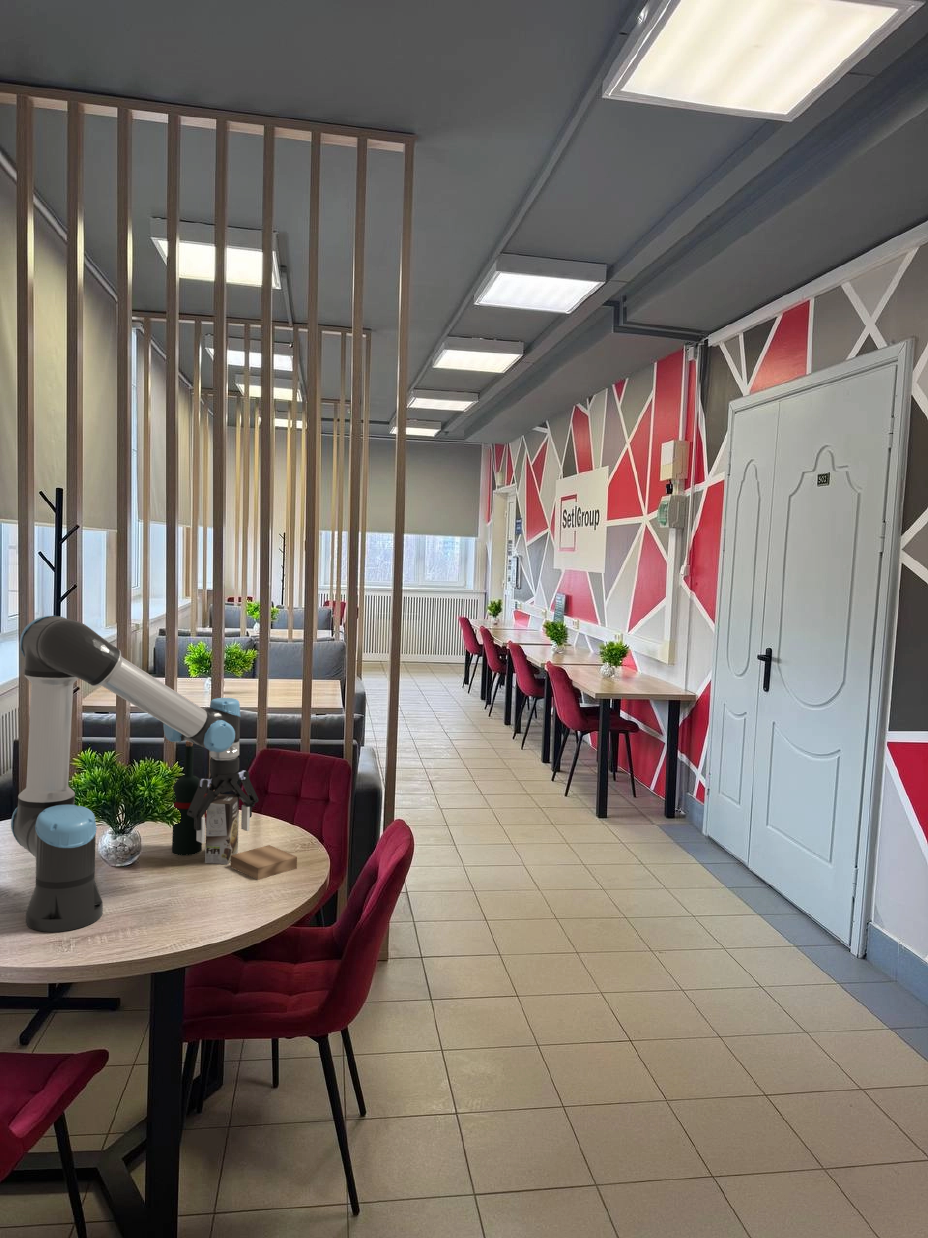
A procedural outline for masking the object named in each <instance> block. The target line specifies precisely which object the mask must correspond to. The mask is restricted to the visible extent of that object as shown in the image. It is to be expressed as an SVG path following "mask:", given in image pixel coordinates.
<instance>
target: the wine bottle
mask: <svg viewBox="0 0 928 1238" xmlns="http://www.w3.org/2000/svg"><path fill="white" fill-rule="evenodd" d="M194 745H195V744H194V743H191V742H189V741H185V746H184V747H185V749H184V775H182V776H181V777H180V778H177V780H176V781H175V782H176V783H174V785H173V793H174V792H175V795H176V802H175V803H174V802H173V803H174V807H175V808H177V809H178V810H179V811H180V813H181V819H180V821H181V822H180V823H178V824H175V825H173V824H172V837H171V838H172V842H171V844H172V845H171V854H173V855H175V856H183V857H185V856H194V855H198V854H199V853H201V852H202V851H203V843H201V842H198V841H196V840H197V830H195V829H194V818H193V817H190V816H188V815H187V812H188V809H189V807H190V805H191V802H192V800H193V798H194V795H195V793H196V791H197V788H198V783H199V779H200V778H199V777H198V776H196V775H194V755H195V754H194V753H195V752H194V751H195V749H194V748H195V746H194ZM206 794H207V792H206V793H205V795H206ZM204 797H205V796H204ZM206 816H207V811H206V812H205V814H204V815H203V817H204V818H205V826H206Z"/></svg>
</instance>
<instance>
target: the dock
mask: <svg viewBox="0 0 928 1238" xmlns="http://www.w3.org/2000/svg"><path fill="white" fill-rule="evenodd" d="M229 863H230V868H232V869H234V870H236V871H239V872H241V873H243V874H245V875H247V876H249V877H250V878H252V879H255V880H257V881H258V880H262V879H266V878H269V877H272V876H275V875H279V874H281V873H285V872H288V871H293V870H294V869H297V868H298V856H296V855H293V854H291V853H289V852H287V851H284V850H281V849H279V848H278V847H275V846H272V845H269V844H268V845H264V846H260V847H257V848H254V849H250V850H245V851H243V852H238V853H237V854H234V855H231V861H230V862H229Z"/></svg>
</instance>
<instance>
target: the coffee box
mask: <svg viewBox="0 0 928 1238" xmlns="http://www.w3.org/2000/svg"><path fill="white" fill-rule="evenodd" d="M206 814H207V816H206V825H205V848H204V849H205V850H204V851H205V853H204V863H205V864H216V865H217V864H218V865H219V864H220V865H229V863H230V862H231V855H234V854H238V853H239V852H238V851H239V822H240V820H239V817H240V798H239V795H236V794H227V793H225V794H224V793H219V794H218V796H216V797H215V798H214V800H213V801H212V803H211V804H210V806H209V807H208V809H207V810H206Z"/></svg>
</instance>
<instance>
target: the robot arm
mask: <svg viewBox="0 0 928 1238" xmlns="http://www.w3.org/2000/svg"><path fill="white" fill-rule="evenodd" d="M19 648H20V651H21V654H22V655H23V657H24V673H23V675H24V678H26V679H27V680H28V681H29V682H30V683H31V687H30V707H29V708H30V709H29V723H28V725H29V729H28V743H27V744H28V747H27V764H26V765H27V769H26V785H25V786H26V787H25V788H24V789H23V790H22V791H21V792H19V794H18V796H17V799H18V800H17V807H16V808H15V809H14V811H13V813H12V816H11V819H10V829H11V832H12V834H13V837H14V839H15V840H16V842H17V843H18V844H19V845H20V846H21V847H22V848H24V849H25V850H26V851H28V852H29V853H30V854H31V855H32V856H33V857H35V887H34V889H33V892H32V894H31V897H30V900H29V903H28V906H27V909H26V911H25V924H26V923H27V924H26V926H27V925H28V926H29V927H28V926H27V927H28V928H30V929H32V930H35V931H39V932H49V933H55V932H56V933H57V932H67V931H73V930H77V929H81V928H84V927H87V926H88V925H92V924H93V923H95V922H96V921H98V920H99V919H101V917H102V915H104V914H103V913H104V912H103V911H104V904H103V900H102V896H101V893H100V891H99V888H98V886H97V883H96V880H95V879H96V878H95V877H96V876H95V874H96V873H95V872H96V869H95V868H96V865H95V864H96V834H97V827H98V826H97V823H96V815H95V814H94V812H93V811H92V810H91V809H89V808H88V807H85V806H82V805H76V804H75V803H76V801H75V800H76V799H75V798H76V793H75V791H74V790H73V789H72V788H71V787H70V786H69V778H70V777H69V776H70V773H69V772H70V760H71V759H70V758H71V738H72V718H73V717H72V715H73V698H74V696H73V695H74V684H75V682H77V681H78V680H82V681H84V682H86V683H87V684H88V685H91V686H93V687H97V686H101V687H103V688H105V689H106V690H108V691H109V692H111V693H113V694H115V695H116V696H118V697H120V698H121V699H123V700H124V701H127V702H128V703H130V704H131V705H133V706H135V707H137V708H138V709H139V710H141V711H143V712H144V713H147V715H150V716H151V717H153V718H155V719H156V720H158V721H160V722H161V723H162V724H163V733H164V736H165V738H166V740H168V741H169V742H172V743H174V742H175V743H177V742H178V743H181V742H184V741H185V742H186V741H189V742H191V743H193V745H197V746H200V747H201V748H204V749H207V750H208V751H209V757H210V759H209V773H210V776H209V778H202V777H200V778H199V783H198V788H197V791H196V793H195V795H194V798H193V800H192V802H191V805H190V807H189V809H188V812H187V815H188V816H190V817H193V818H194V829H195V830H197V840H196V841H198V842H201V843H202V844H204V843H205V844H206V825H205V816H204V814H205V812H206V813H207V809H208V807H209V806H210V804H211V803H212V801H213V800H214V798H215V797H216V796H218V794H224V793H227V792H232V791H233V792H234V795H239V800H240V801H241V802H242V803H243V804H242V805H241V825H240V829H241V830H242V831H244V832H250V826H251V825H250V818H252V816H253V808H254V807H255V804H256V803H259V798H258V795H257V793H256V791H255V788H254V786H253V784H252V782H251V780H250V772H249V771H248V770H244V769H241V770H240V757H238V756H240V739H241V738H240V733H241V732H240V730H241V728H240V727H241V706H240V701H239V700H238V699H237V698H233V697H216V698H212V700H211V701H210V704H209V707H206V708H202V707H201V706H199V705H198V704H196V703H194V702H193V701H191V700H189V699H188V698H186V696H183V695H182V694H181V693H179V692H178V691H176V690H174V689H172V688H171V687H170V686H168V685H167V684H164V682H162V681H160V680H159V679H157V678H155V677H154V676H152V675H151V674H149V673H148V672H146V671H144V670H143V669H142V668H140V667H138V666H137V665H136V664H134V663H132V662H131V661H129V660H127V659H126V658H124V657H123V656H122V651H121V650H120V649H119V648H118V647H116V646H115V645H113V644H111V643H110V642H108V641H107V640H106V638H103V637H102V636H100V634H98V633H97V632H96V631H94V630H93V629H92V628H90V627H89V626H88V625H86V624H85V623H82V622H80V621H78V620H74V619H69V618H66V617H63V616H61V615H60V616H59V615H45V616H41V617H37V618H35V619H33V620H32V621H30V622H28V624H27V625H26V626H25V627H24V629H23V630H22V632H21V634H20V638H19ZM239 780H240V781H241V783H242V786H243V788H244V790H245V792H244V791H243V790H242V787H240V785H239V784H238V781H239ZM206 793H207V794H206ZM205 794H206V795H205ZM204 796H205V797H204Z"/></svg>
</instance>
